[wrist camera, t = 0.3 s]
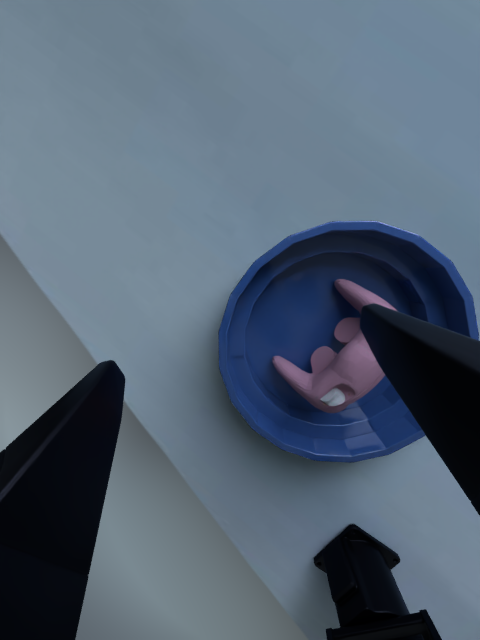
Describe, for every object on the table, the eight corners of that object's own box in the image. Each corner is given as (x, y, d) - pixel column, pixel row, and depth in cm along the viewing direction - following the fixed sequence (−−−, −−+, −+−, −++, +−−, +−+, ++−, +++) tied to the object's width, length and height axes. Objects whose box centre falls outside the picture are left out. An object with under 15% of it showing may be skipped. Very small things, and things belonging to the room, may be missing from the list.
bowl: (481, 316, 22) (537, 329, 17) (338, 460, 25) (355, 501, 21) (311, 183, 20) (326, 160, 16) (188, 355, 24) (172, 374, 20)
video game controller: (296, 376, 25) (342, 435, 19) (263, 360, 23) (304, 421, 17) (365, 296, 23) (439, 334, 17) (337, 269, 21) (411, 302, 15)
